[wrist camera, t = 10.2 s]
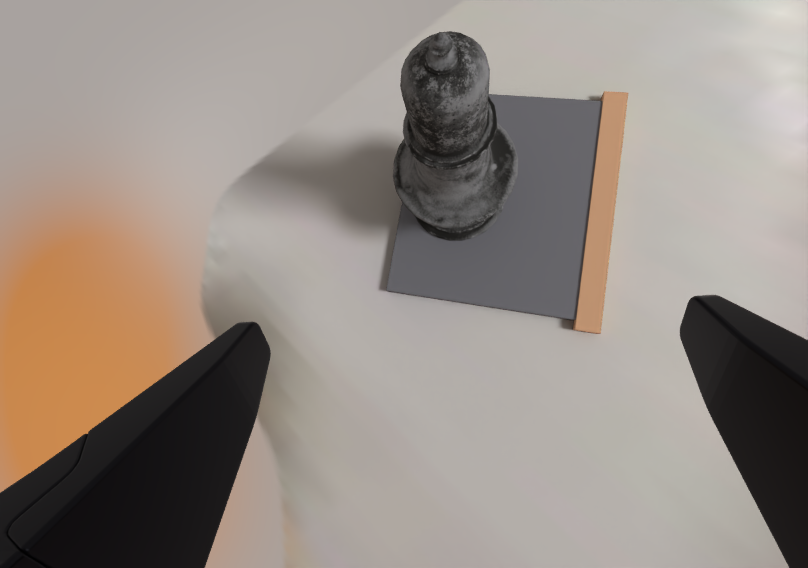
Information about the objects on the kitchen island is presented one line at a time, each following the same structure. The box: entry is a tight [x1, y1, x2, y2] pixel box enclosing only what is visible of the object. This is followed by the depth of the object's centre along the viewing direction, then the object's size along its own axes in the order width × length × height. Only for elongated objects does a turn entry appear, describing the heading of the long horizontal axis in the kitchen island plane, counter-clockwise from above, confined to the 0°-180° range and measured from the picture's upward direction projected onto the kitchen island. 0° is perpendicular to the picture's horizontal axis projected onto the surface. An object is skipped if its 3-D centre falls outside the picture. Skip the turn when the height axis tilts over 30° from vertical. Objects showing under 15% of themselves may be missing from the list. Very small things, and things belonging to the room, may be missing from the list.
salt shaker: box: [393, 31, 518, 241], centre depth 17 cm, size 6×6×12 cm
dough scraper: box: [387, 91, 628, 334], centre depth 23 cm, size 11×13×1 cm
